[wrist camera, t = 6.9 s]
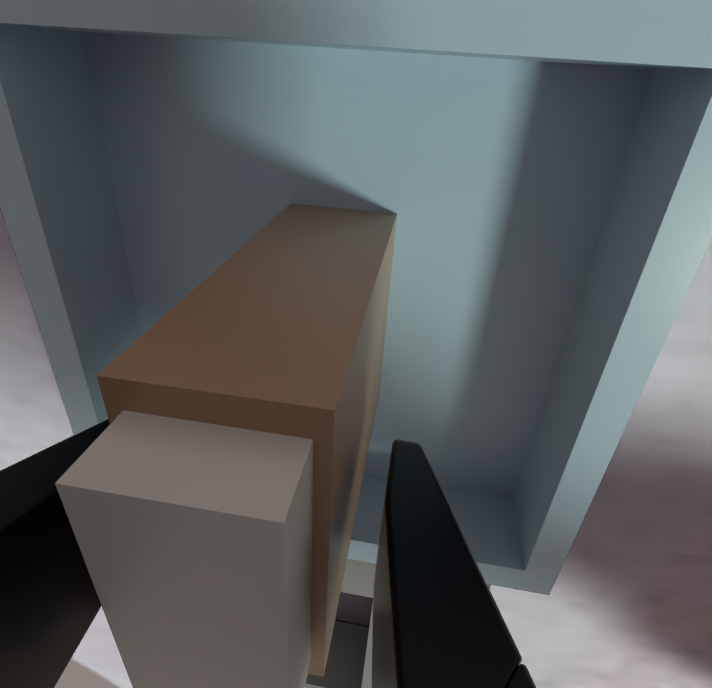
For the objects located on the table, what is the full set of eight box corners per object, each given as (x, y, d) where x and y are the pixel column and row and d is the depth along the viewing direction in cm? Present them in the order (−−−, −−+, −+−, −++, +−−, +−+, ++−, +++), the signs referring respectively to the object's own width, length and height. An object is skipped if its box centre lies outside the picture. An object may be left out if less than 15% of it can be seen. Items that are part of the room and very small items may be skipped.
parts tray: (705, 20, 8) (820, -2, 6) (530, 504, 15) (548, 595, 12) (55, -16, 10) (-83, -46, 7) (154, 443, 16) (99, 513, 14)
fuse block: (484, 512, 15) (491, 584, 13) (416, 746, 25) (413, 811, 22) (192, 464, 16) (154, 522, 14) (231, 705, 26) (212, 763, 23)
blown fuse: (396, 213, 10) (308, 492, 4) (379, 396, 13) (307, 762, 6) (291, 203, 11) (19, 444, 4) (293, 384, 13) (133, 721, 6)
